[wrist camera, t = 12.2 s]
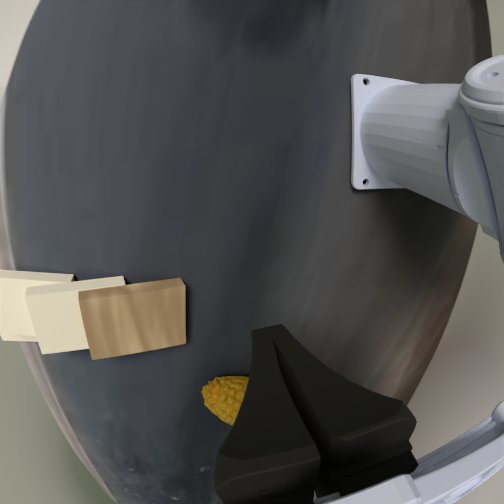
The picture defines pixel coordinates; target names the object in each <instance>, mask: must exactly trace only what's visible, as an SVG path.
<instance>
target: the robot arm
mask: <svg viewBox="0 0 504 504" xmlns="http://www.w3.org/2000/svg"><path fill="white" fill-rule="evenodd" d="M363 79H365V80H366V81H367V84H366V85H364V83H363ZM351 102H352V169H351V184H352V186H353V187H354V188H355V189H359V190H361V189H386V188H407V189H409V190H411V191H414V192H416V193H418V194H420V195H423V196H425V197H427V198H429V199H431V200H434V201H436V202H438V203H440V204H442V205H444V206H446V207H448V208H450V209H452V210H454V211H456V212H459V213H461V214H463V215H465V216H467V217H469V218H470V219H472V220H474V221H476V222H478V223H479V224H480V225H481V227H482V230H483V232H484V233H486V234H488V235H489V236H491V237H493V238H494V239H496V240H498V241H499V248H500V254H501V258H502V261H503V262H504V54H501V55H498V56H495V57H492V58H489V59H487V60H484V61H482V62H480V63H479V64H477V65H475V66H474V67H473V68H471V69H470V70H469V71H468V73H467V74H466V76H465V78H464V81H463V82H462V83H461V84H418V83H413V82H408V81H402V80H397V79H391V78H385V77H378V76H371V75H363V74H355V75H353V76H352V77H351ZM364 179H366V184H364V185H363V180H364ZM251 338H252V361H251V369H250V374H249V379H248V384H247V388H246V391H245V395H244V398H243V401H242V404H241V407H240V409H239V412H238V414H237V417H236V419H235V421H234V423H233V425H232V428H231V430H230V432H229V434H228V435H227V437H226V439H225V441H224V442H223V444H222V446H221V447H220V449H219V451H218V454H217V458H216V463H215V468H214V485H215V491H216V494H217V496H218V497H219V499H220V500H221V502H222V503H223V504H453V503H455V502H456V501H458V500H459V499H461V498H462V497H464V496H465V495H467V494H468V493H469V492H471V491H472V490H474V489H475V488H476V487H478V486H479V485H480V484H482V483H483V482H484V481H486V480H487V479H488V478H489V477H491V476H492V475H493V474H495V473H496V472H497V471H498V470H500V469H501V468H502V467H503V466H504V400H503V401H502V402H500V403H499V404H498V405H497V406H496V408H495V409H494V411H493V412H492V414H491V416H490V417H488V418H487V419H485V420H484V421H482V422H481V423H480V424H478V425H476V426H475V427H473V428H472V429H470V430H469V431H467V432H465V433H464V434H462V435H461V436H459V437H457V438H456V439H454V440H452V441H451V442H449V443H447V444H445V445H444V446H442V447H440V448H438V449H437V450H435V451H433V452H431V453H429V454H427V455H425V456H423V457H421V458H419V459H417V460H416V459H415V457H414V456H413V454H412V452H411V450H412V445H411V444H410V442H409V439H410V437H411V435H412V433H413V431H414V429H415V426H416V423H417V422H416V419H415V417H414V415H413V414H412V412H411V411H410V410H409V409H408V407H407V406H406V405H405V404H404V403H403V402H402V401H401V400H397V399H394V398H390V397H387V396H384V395H380V394H378V393H375V392H373V391H370V390H368V389H365V388H363V387H361V386H359V385H357V384H355V383H353V382H351V381H349V380H348V379H346V378H344V377H342V376H341V375H339V374H338V373H336V372H334V371H333V370H331V369H330V368H329V367H327V366H326V365H325V364H323V363H322V362H321V361H319V360H318V359H317V358H316V357H314V356H313V355H312V354H311V353H310V352H309V351H308V350H307V349H305V348H304V347H303V346H302V345H301V344H300V343H299V342H298V341H297V340H296V339H295V338H294V337H293V336H292V335H291V334H290V332H289V331H288V330H287V329H286V328H285V326H283V325H282V324H280V325H275V326H270V327H265V328H261V329H256V330H253V331H252V332H251ZM314 491H315V493H316V496H317V499H314V500H313V497H314Z"/></svg>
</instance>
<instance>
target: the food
mask: <svg viewBox="0 0 504 504" xmlns="http://www.w3.org/2000/svg"><path fill="white" fill-rule="evenodd" d="M248 379H249V377H244V376H226V377H224V376H223V377H215V379H214V380H213V381H212V382H211V381H209V382H208V385H206V386H203V390H202V391H201V392H202V394H203V398H204V399H205V403H204V404H205V405H206V406H207V407H208V408H209V410H210V411H212V413H215V415H218V417H219V418H220V419H221V420H222V421H224V422H226V423H229V424H230V425H233V423H234V421H235V419H236V417H237V414H238V412H239V409H240V407H241V404H242V401H243V398H244V395H245V391H246V388H247V384H248Z"/></svg>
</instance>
